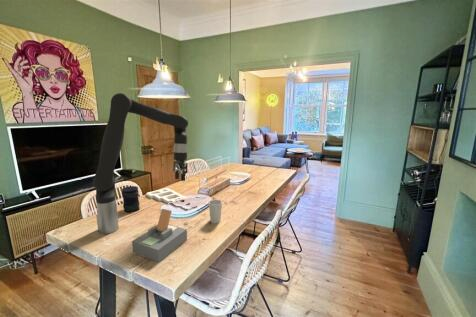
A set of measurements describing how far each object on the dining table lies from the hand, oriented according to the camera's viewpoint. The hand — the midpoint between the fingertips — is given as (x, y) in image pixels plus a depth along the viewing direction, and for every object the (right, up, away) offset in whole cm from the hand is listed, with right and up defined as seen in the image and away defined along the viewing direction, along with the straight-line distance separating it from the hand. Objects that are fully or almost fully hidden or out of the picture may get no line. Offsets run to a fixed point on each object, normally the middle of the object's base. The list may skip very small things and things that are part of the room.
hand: (179, 179), depth 133 cm
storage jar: (-38, -22, +21) cm, 48 cm away
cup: (+20, -26, +7) cm, 33 cm away
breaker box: (-4, -31, -20) cm, 37 cm away
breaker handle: (-4, -25, -21) cm, 33 cm away
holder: (-16, -20, +37) cm, 45 cm away
